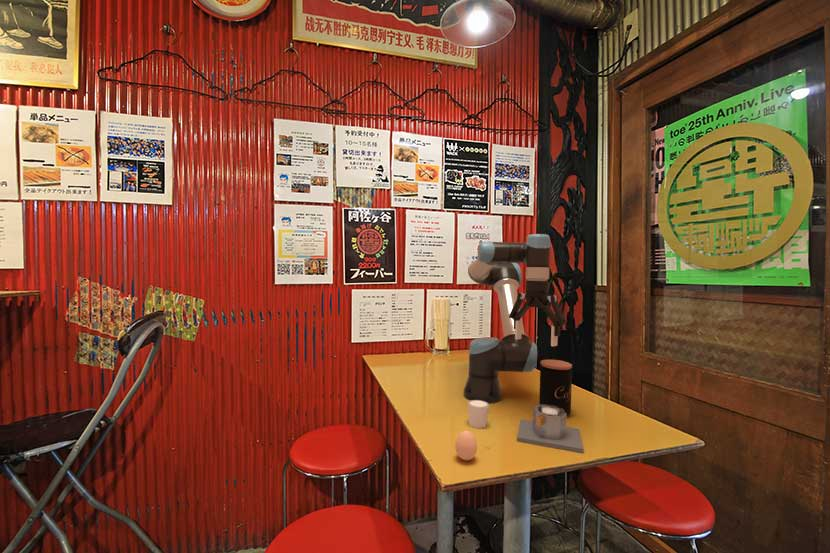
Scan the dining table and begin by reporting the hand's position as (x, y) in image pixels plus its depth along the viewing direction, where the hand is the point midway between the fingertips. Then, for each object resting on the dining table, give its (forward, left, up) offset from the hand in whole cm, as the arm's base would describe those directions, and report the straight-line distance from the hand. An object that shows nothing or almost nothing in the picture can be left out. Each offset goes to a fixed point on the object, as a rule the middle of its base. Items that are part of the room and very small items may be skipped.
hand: (535, 342), depth 121 cm
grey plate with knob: (+5, -11, -27) cm, 29 cm away
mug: (+5, -11, -26) cm, 28 cm away
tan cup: (-17, -11, -27) cm, 34 cm away
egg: (-16, -34, -27) cm, 46 cm away
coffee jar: (+7, +10, -27) cm, 30 cm away
